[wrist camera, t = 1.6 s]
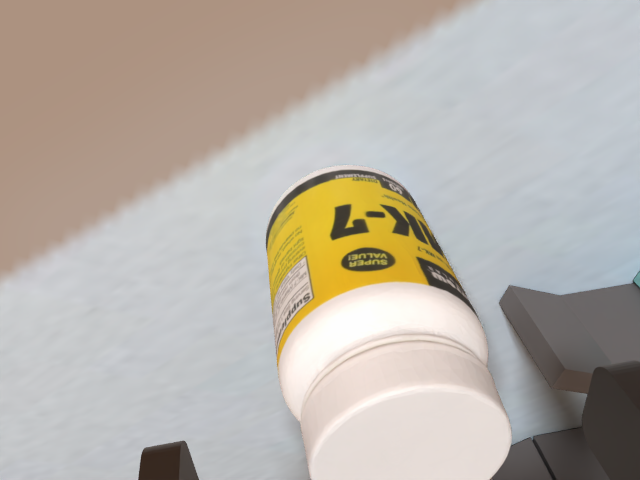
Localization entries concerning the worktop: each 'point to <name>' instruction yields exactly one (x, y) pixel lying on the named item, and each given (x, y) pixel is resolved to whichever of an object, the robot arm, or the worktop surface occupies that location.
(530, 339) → the pair of grey blocks
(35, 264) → the worktop surface
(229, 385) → the worktop surface
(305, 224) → the supplement bottle
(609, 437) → the robot arm
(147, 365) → the worktop surface
